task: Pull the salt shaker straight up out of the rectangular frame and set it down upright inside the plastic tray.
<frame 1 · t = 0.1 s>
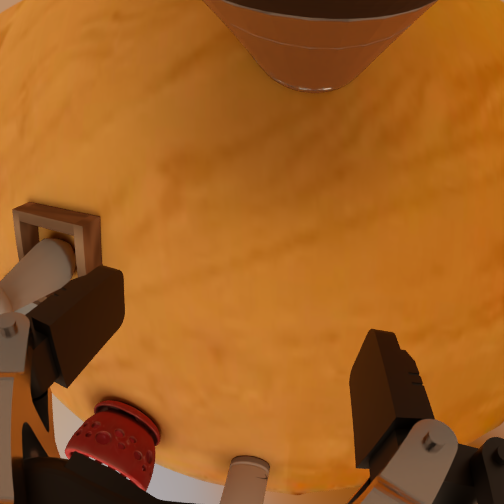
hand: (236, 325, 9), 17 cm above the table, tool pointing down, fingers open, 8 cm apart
salt shaker: (65, 254, 32), resting in rectangular frame
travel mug: (251, 462, 42), on the table
rectangular frame: (64, 255, 32), on the table
plant pot: (133, 419, 43), on the table
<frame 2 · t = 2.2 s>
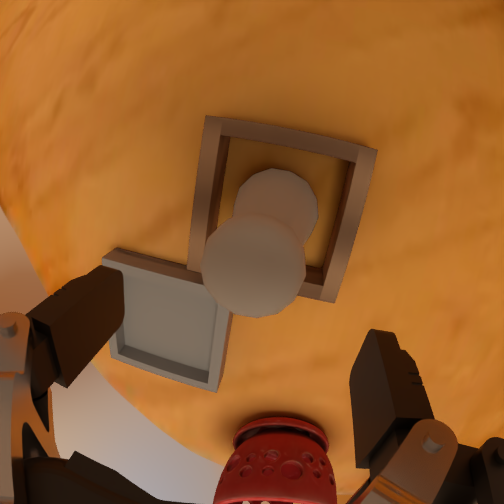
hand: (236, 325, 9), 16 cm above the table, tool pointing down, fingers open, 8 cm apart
salt shaker: (279, 202, 24), resting in rectangular frame
tray: (170, 317, 29), on the table
rectangular frame: (278, 203, 24), on the table
plant pot: (285, 437, 34), on the table
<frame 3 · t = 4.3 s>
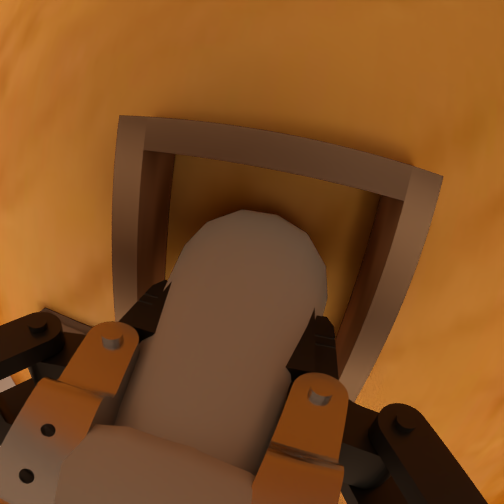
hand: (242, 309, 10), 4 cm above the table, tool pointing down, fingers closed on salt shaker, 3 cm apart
salt shaker: (260, 260, 14), resting in rectangular frame, touching gripper
tray: (121, 396, 20), on the table
rectangular frame: (259, 261, 14), on the table
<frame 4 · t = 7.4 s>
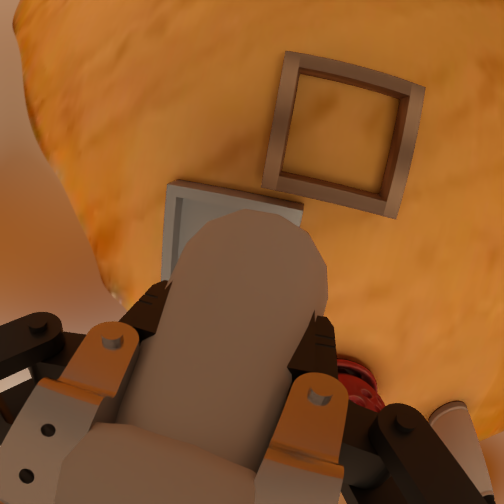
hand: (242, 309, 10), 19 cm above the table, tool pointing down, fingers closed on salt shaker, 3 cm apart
salt shaker: (261, 259, 14), point 15 cm above the table, touching gripper
tray: (229, 250, 31), on the table
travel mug: (447, 412, 35), on the table
rectangular frame: (342, 133, 25), on the table
plant pot: (332, 386, 35), on the table
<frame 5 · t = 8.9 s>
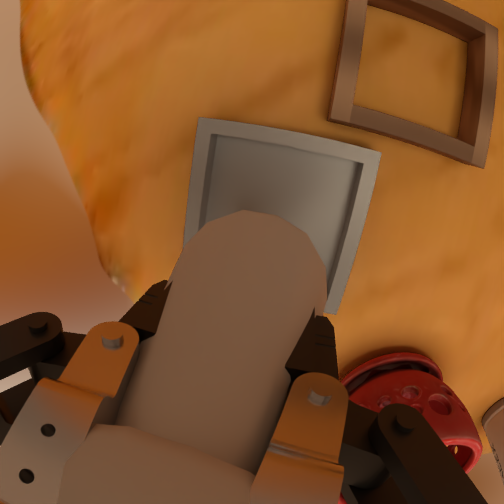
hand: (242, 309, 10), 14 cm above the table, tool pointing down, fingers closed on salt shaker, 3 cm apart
salt shaker: (260, 260, 14), point 9 cm above the table, touching gripper
tray: (276, 211, 23), on the table
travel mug: (500, 408, 27), on the table
rectangular frame: (413, 70, 17), on the table
plant pot: (389, 387, 28), on the table
when the fingers open (6 cm above the table, at t = 10.4 s): salt shaker drops 1 cm, resting on tray.
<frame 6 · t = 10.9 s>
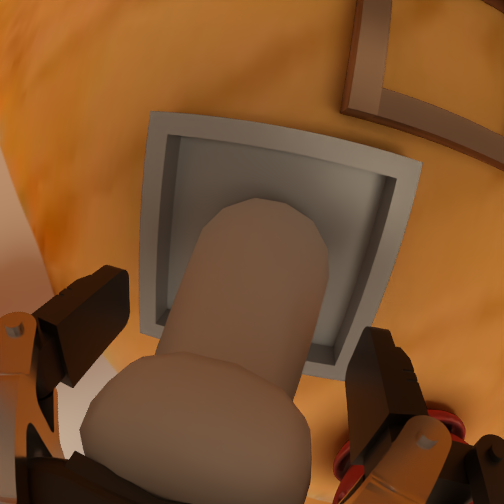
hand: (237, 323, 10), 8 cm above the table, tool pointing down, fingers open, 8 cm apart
salt shaker: (267, 246, 16), point 1 cm above the table, touching tray
tray: (266, 243, 16), on the table
rectangular frame: (456, 48, 11), on the table
plant pot: (402, 441, 21), on the table
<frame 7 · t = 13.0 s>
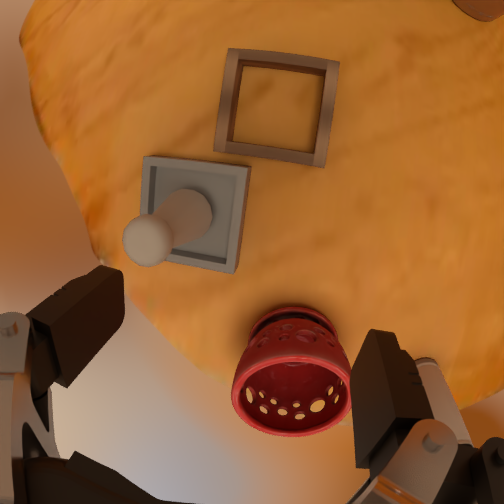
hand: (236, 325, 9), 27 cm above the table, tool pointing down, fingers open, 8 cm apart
salt shaker: (193, 210, 36), point 1 cm above the table, touching tray
tray: (194, 210, 37), on the table
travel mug: (419, 371, 40), on the table
rectangular frame: (278, 107, 31), on the table
plant pot: (296, 339, 41), on the table
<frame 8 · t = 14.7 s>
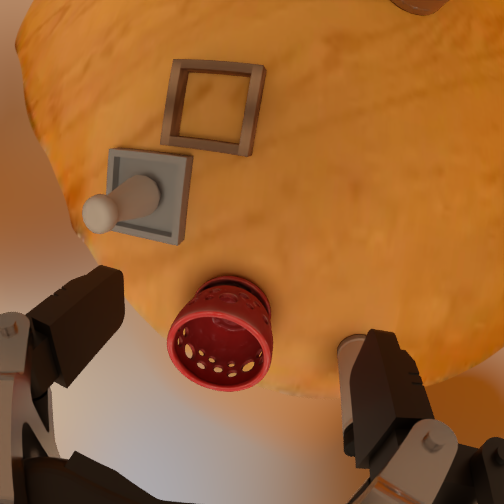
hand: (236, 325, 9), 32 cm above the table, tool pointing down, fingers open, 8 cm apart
salt shaker: (148, 192, 42), point 1 cm above the table, touching tray
tray: (149, 192, 43), on the table
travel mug: (356, 347, 46), on the table
rectangular frame: (215, 106, 37), on the table
plant pot: (236, 306, 47), on the table
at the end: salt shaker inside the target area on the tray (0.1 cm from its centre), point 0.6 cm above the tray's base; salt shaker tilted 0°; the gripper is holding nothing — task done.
